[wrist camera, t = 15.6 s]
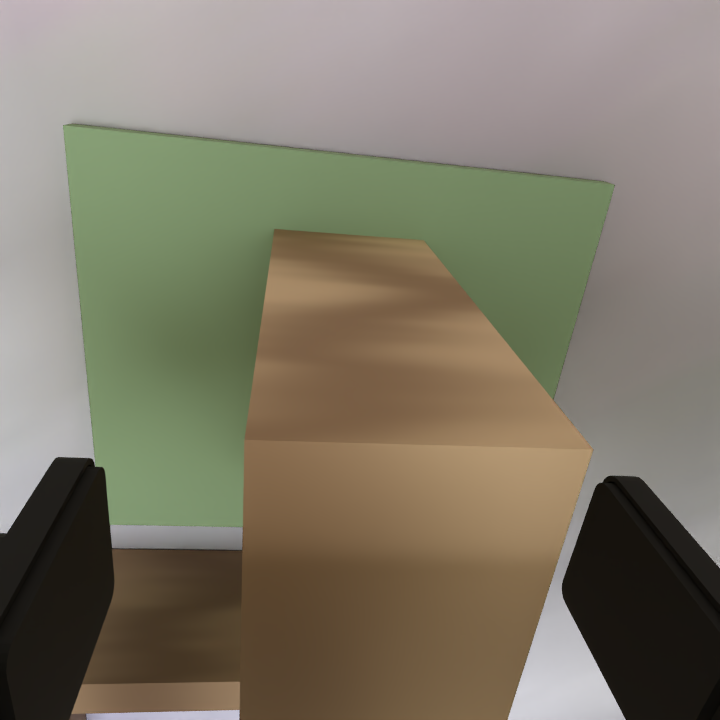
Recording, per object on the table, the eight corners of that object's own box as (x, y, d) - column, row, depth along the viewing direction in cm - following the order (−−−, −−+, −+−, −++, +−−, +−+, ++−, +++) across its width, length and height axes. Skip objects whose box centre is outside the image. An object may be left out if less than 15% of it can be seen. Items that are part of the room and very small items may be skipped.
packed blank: (423, 240, 16) (593, 449, 7) (388, 480, 19) (471, 833, 10) (274, 228, 15) (244, 440, 6) (265, 478, 19) (237, 848, 10)
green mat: (604, 181, 16) (615, 185, 16) (509, 520, 21) (515, 532, 21) (71, 123, 14) (63, 125, 14) (106, 511, 19) (101, 524, 19)
